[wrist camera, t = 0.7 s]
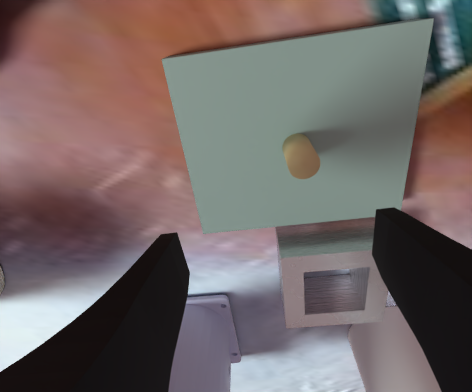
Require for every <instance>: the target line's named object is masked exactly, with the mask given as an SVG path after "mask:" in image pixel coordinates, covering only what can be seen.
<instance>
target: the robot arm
mask: <svg viewBox="0 0 472 392" xmlns="http://www.w3.org/2000/svg"><path fill="white" fill-rule="evenodd" d="M372 256H373V259H374V261H375V264H376V266H377V269H378V271H379V273H380V276H381V278H382V280H383V282H384V283H385V285H386V287H387V289H388V291H389V292H390V294H391V296H392V297H393V299H394V301H395V303H396V304H397V306H398V308H399V309H400V311H401V313H402V315H403V316H404V318H405V320H406V321H407V323H408V325H409V327H410V328H411V330H412V332H413V333H414V335H415V337H416V339H417V341H418V342H419V344H420V346H421V348H422V350H423V352H424V354H425V356H426V358H427V361H428V363H429V365H430V367H431V369H432V371H433V374H434V376H435V378H436V380H437V382H438V385H439V387H440V389H441V391H442V392H472V249H470V248H467V247H466V246H464V245H462V244H460V243H458V242H456V241H454V240H452V239H450V238H449V237H447V236H445V235H443V234H441V233H439V232H438V231H436V230H434V229H432V228H431V227H429V226H427V225H425V224H424V223H422V222H420V221H418V220H417V219H415V218H413V217H411V216H410V215H408V214H406V213H404V212H402V211H400V210H399V209H397V208H395V207H392V208H383V209H376V214H375V225H374V235H373V245H372ZM189 275H190V272H189V269H188V266H187V263H186V260H185V256H184V253H183V250H182V247H181V244H180V240H179V237H178V234H177V233H169V234H161V235H160V236H159V237H158V238H157V239H156V240H155V241H154V243H153V244H152V245H151V246H150V247H149V248H148V249H147V250H146V251H145V253H144V254H143V255H142V256H141V257H140V258H139V259H138V260H137V261H136V262H135V263H134V264H133V266H132V267H131V268H130V269H129V270H128V271H127V272H126V273H125V274H124V275H123V276H122V277H121V278H120V279H119V280H118V281H117V282H116V283H115V284H114V285H113V286H112V287H111V288H110V289H109V290H108V291H107V292H106V293H105V294H104V295H103V296H102V297H101V298H99V299H98V300H97V301H96V302H95V303H94V304H93V305H92V306H90V307H89V308H88V309H87V310H86V311H84V312H83V313H82V314H81V315H80V316H79V317H77V318H76V319H75V320H74V321H72V322H71V323H70V324H68V325H67V326H66V327H64V328H63V329H62V330H60V331H59V332H58V333H56V334H55V335H54V336H52V337H51V338H50V339H48V340H47V341H46V342H44V343H43V344H42V345H40V346H39V347H37V348H36V349H34V350H33V351H32V352H30V353H29V354H27V355H26V356H24V357H23V358H21V359H20V360H18V361H17V362H15V363H14V364H12V365H10V366H9V367H7V368H6V369H4V370H3V371H1V372H0V392H230V379H231V363H238V362H240V361H241V354H240V349H239V345H238V340H237V336H236V331H235V326H234V322H233V317H232V312H231V308H230V303H229V298H228V297H227V296H226V295H212V296H200V297H187V295H188V286H189Z"/></svg>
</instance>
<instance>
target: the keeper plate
mask: <svg viewBox="0 0 472 392" xmlns="http://www.w3.org/2000/svg"><path fill="white" fill-rule="evenodd" d="M433 22H434V18H429V19H413V20H406V21H399V22H393V23H386V24H379V25H373V26H366V27H359V28H353V29H346V30H340V31H333V32H326V33H320V34H313V35H306V36H300V37H293V38H286V39H280V40H273V41H267V42H260V43H253V44H247V45H240V46H233V47H227V48H220V49H214V50H207V51H200V52H194V53H187V54H180V55H174V56H168V57H166V58H163V59H162V63H163V67H164V71H165V75H166V80H167V84H168V88H169V92H170V96H171V101H172V105H173V109H174V113H175V117H176V121H177V126H178V130H179V134H180V138H181V142H182V147H183V151H184V155H185V159H186V163H187V167H188V172H189V176H190V180H191V184H192V188H193V193H194V197H195V201H196V205H197V209H198V213H199V218H200V222H201V226H202V230H203V234H207V233H217V232H227V231H237V230H247V229H257V228H267V227H278V226H288V225H298V224H308V223H318V222H328V221H339V220H349V219H359V218H369V217H375V214H376V209H383V208H392V207H395V208H397V209H399V210H400V211H401V206H402V201H403V195H404V189H405V183H406V177H407V172H408V166H409V160H410V154H411V149H412V143H413V137H414V131H415V126H416V120H417V114H418V108H419V102H420V97H421V91H422V85H423V79H424V74H425V68H426V62H427V56H428V50H429V45H430V39H431V33H432V27H433Z"/></svg>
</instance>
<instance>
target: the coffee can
mask: <svg viewBox="0 0 472 392" xmlns="http://www.w3.org/2000/svg"><path fill="white" fill-rule="evenodd" d="M4 286H5V282H4V274H3V271H2V268H1V266H0V294H1V293H2V291H3V288H4Z"/></svg>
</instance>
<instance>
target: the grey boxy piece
mask: <svg viewBox="0 0 472 392" xmlns="http://www.w3.org/2000/svg"><path fill="white" fill-rule="evenodd" d="M374 225H375V217H369V218H359V219H349V220H339V221H328V222H318V223H308V224H298V225H288V226H278V227H276V239H277V251H278V263H279V275H280V287H281V296H282V303H283V309H284V316H285V323H286V328H300V327H315V326H329V325H343V324H358V323H372V322H383V318H384V312H385V307H386V301H387V295H388V289H387V287H386V285H385V283H384V282H383V280H382V278H381V276H380V273H379V271H378V269H377V266H376V264H375V261H374V259H373V256H372V245H373V235H374ZM338 269H350V271H349V274H346V275H334V276H322V277H310V278H304V272H315V271H327V270H338Z"/></svg>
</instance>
